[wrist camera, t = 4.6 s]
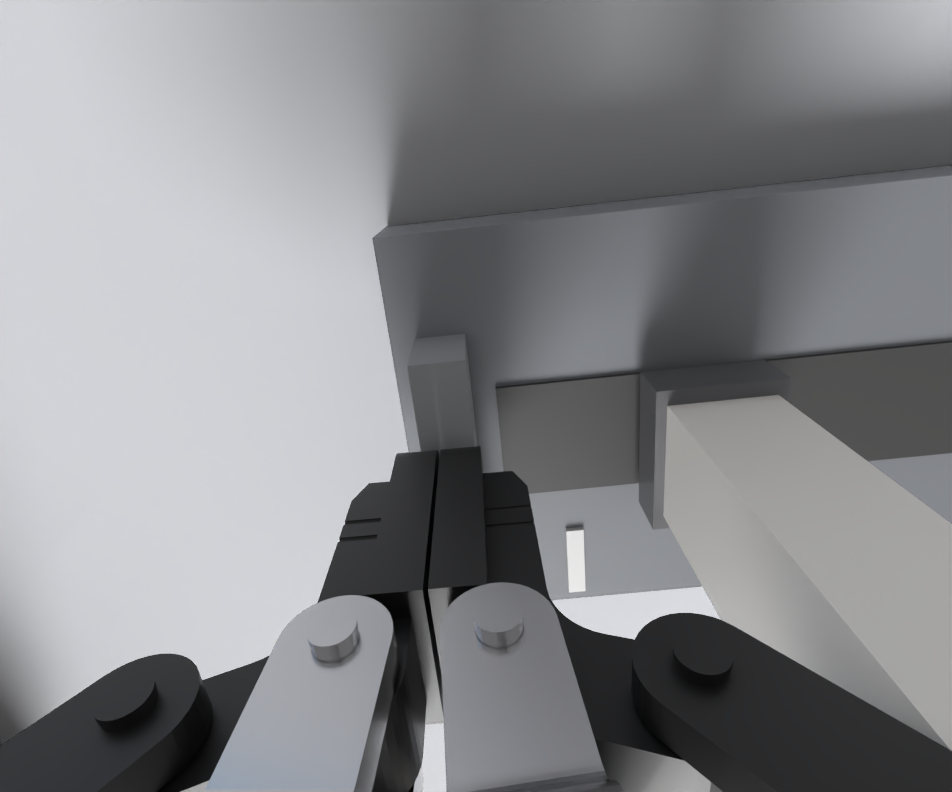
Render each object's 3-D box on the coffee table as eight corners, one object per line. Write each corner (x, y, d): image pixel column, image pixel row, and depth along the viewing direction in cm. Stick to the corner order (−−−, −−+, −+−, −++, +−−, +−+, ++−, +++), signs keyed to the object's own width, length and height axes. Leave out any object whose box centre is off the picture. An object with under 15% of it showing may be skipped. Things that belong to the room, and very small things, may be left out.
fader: (640, 372, 11) (950, 747, 4) (764, 360, 11) (1302, 717, 4) (638, 501, 12) (875, 966, 5) (750, 490, 12) (1144, 946, 5)
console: (386, 226, 12) (356, 251, 9) (1382, 118, 12) (1749, 101, 8) (439, 557, 16) (432, 664, 12) (1206, 485, 15) (1415, 577, 12)
